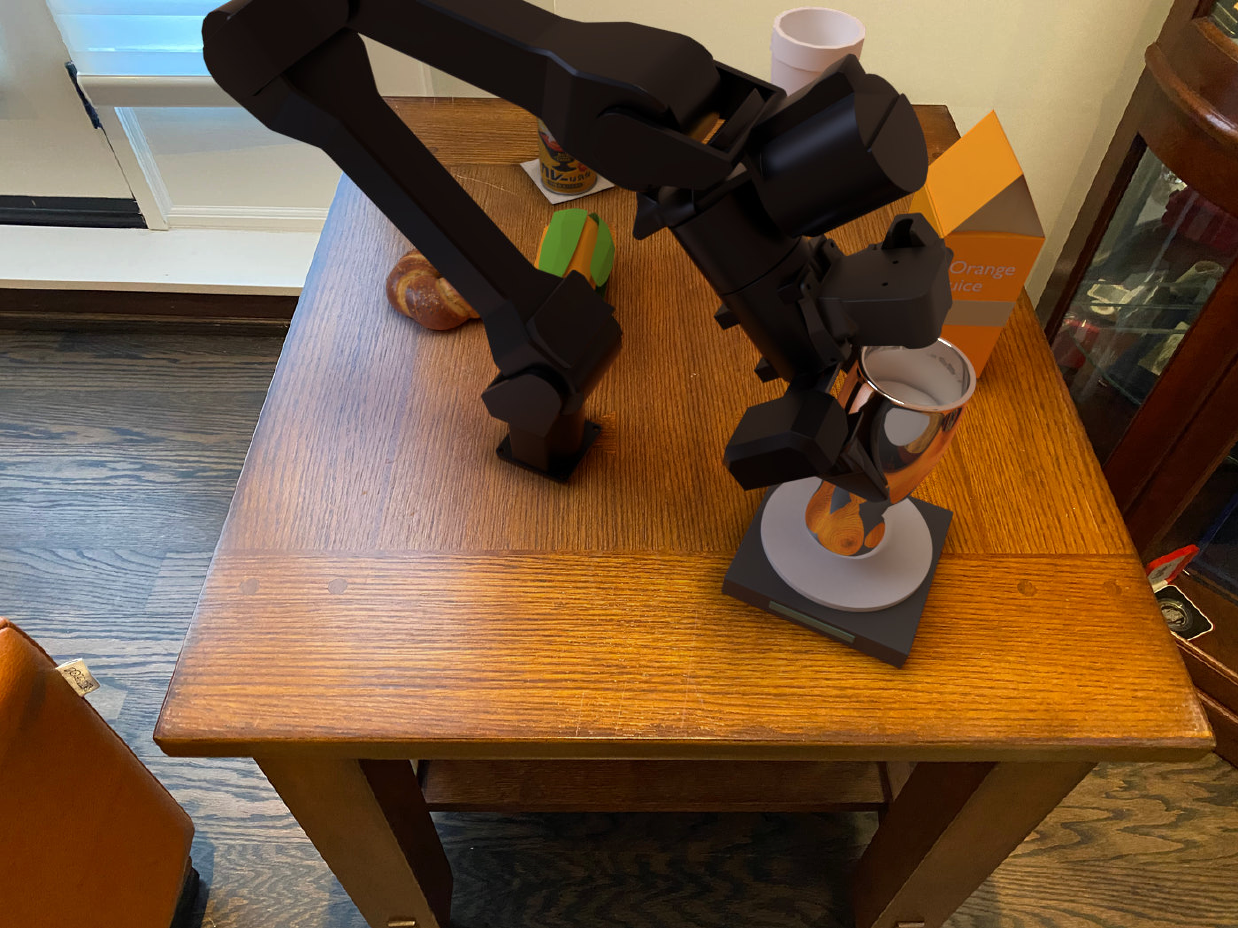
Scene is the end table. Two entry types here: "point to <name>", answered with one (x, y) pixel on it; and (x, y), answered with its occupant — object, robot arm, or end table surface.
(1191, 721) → the end table surface
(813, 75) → the foam cup
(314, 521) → the end table surface
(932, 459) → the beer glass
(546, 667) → the end table surface
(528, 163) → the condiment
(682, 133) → the robot arm
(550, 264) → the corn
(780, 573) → the scale
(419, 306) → the pretzel
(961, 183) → the orange juice
